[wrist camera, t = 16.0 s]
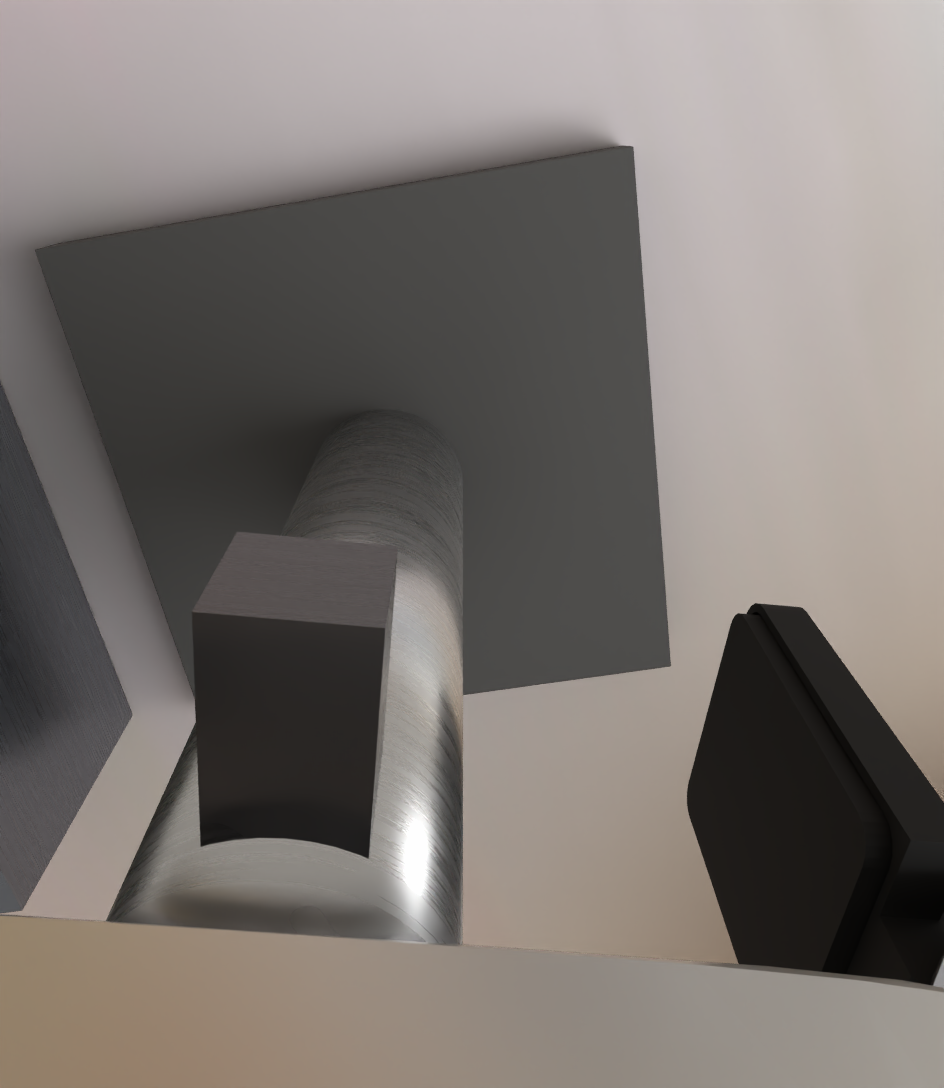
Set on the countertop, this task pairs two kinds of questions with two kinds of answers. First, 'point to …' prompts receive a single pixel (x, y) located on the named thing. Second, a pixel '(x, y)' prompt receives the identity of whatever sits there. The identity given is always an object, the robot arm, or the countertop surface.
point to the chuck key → (326, 711)
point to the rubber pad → (398, 390)
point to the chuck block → (44, 679)
